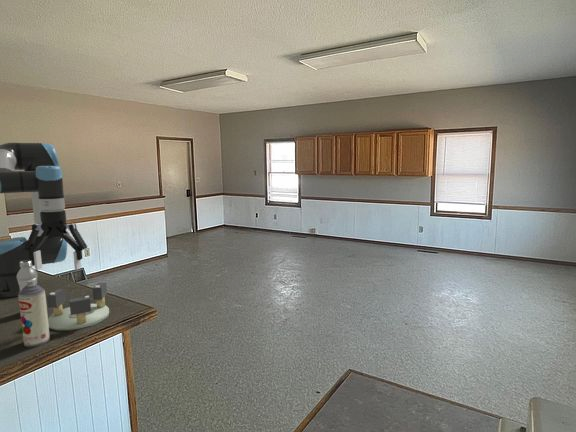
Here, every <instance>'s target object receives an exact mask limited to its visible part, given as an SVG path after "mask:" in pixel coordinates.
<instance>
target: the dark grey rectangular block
mask: <svg viewBox="0 0 576 432" xmlns="http://www.w3.org/2000/svg"><path fill="white" fill-rule="evenodd" d="M65 302H67V292H66V289H65V288H63V289H61V288H60V289H55V290H53V291H52V292H50V293H48V294H47V295H46V303H47V309H48V308H52V310H53V313H54V316H60V315H62V314H63V309H64V308H63V304H64V303H65Z"/></svg>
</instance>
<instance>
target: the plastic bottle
mask: <svg viewBox="0 0 576 432" xmlns="http://www.w3.org/2000/svg"><path fill="white" fill-rule="evenodd" d="M20 267H21V269H20V270H19V272H18V274H17V281H18V284H19V288H20V291H21V290H22V289H23V288H24V287H25V286H26V285H27V281H30V280H34V283H35V284H37V285H38V272H37V270H35V267H33V266H32V261H31V260H24V261H21V262H20Z"/></svg>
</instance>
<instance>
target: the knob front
mask: <svg viewBox="0 0 576 432" xmlns="http://www.w3.org/2000/svg"><path fill="white" fill-rule="evenodd" d="M90 304H91V297H90V295H86V296H85V295H84V296H83V297H75V298H70V299H69V307H70V312H71V315H74V314H76V316H77V324H84V323H86V312H90V311H91V305H90Z"/></svg>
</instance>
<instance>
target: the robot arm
mask: <svg viewBox="0 0 576 432" xmlns="http://www.w3.org/2000/svg"><path fill="white" fill-rule="evenodd" d="M58 157H59V156H58V153H57V151H56V148H55V146H54V145H53V144H51V143H44V142H6V143H2V144H0V194H15V193H16V194H18V193H31V202H32V212H33V222H34V224H32V225H31V232H30V235H29V237H28V239H27V238H26V236H25V237H24V236H20V237H19V236H18V237H13V238H8V239H7V238H6V239H3V240H0V299H5V298H15V297H18V295H19V292H20V288H19V284H18V281H17V274H18V272H19V270H20V269H21V267H20V262H21V261H24V260H31V261H32V267H34V269H35V270H36V271H39V270H41V269H42V268H43V265H47V264H49V265H50V264H55V263H60V262H64V261H65V260H66V258H67V253H68V245H69V246H70V247H71V248H72V249H73V250H74V251H73V255H72V256H73V263H74V266H73V267H74V270H75V271H77V270H79V269H81V268H82V266H81V265H82V263H81V260H83V250H85V249H88V245H87V244H86V242H85V240H84V238H83V237H82V236H81V234H80V232H79V231H78V229H77V224H76V222H73V223H71V224H67V214H66V210H65V208H66V202H65V194H64V184H63V183H64V182H63V180H64V179H63V177H64V175H63V173H62V171H63V170H62V168H61V167H60V164H59V163H60V162H59V159H58ZM21 170H22V171H21ZM67 230H68V231H69V232H68V231H67ZM70 234H71V235H70Z"/></svg>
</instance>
